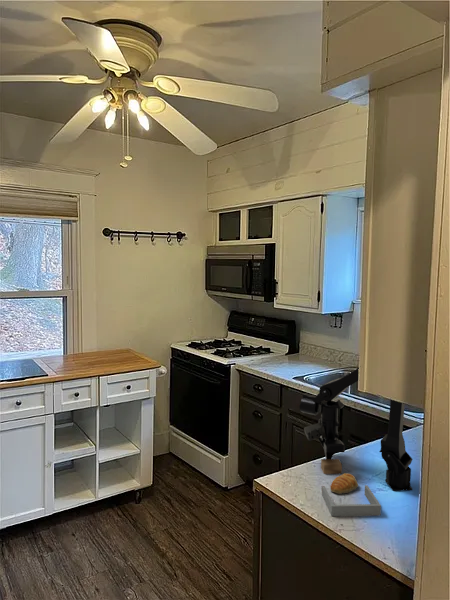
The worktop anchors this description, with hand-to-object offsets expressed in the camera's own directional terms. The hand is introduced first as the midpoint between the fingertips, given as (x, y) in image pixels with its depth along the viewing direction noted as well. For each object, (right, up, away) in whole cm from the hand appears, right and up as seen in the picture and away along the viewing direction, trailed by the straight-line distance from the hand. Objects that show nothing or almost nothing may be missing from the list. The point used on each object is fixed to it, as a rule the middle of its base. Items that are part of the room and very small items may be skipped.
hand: (328, 460), depth 162 cm
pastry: (+2, -4, -16) cm, 16 cm away
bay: (+1, -4, -25) cm, 25 cm away
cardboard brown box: (0, -2, -4) cm, 5 cm away
